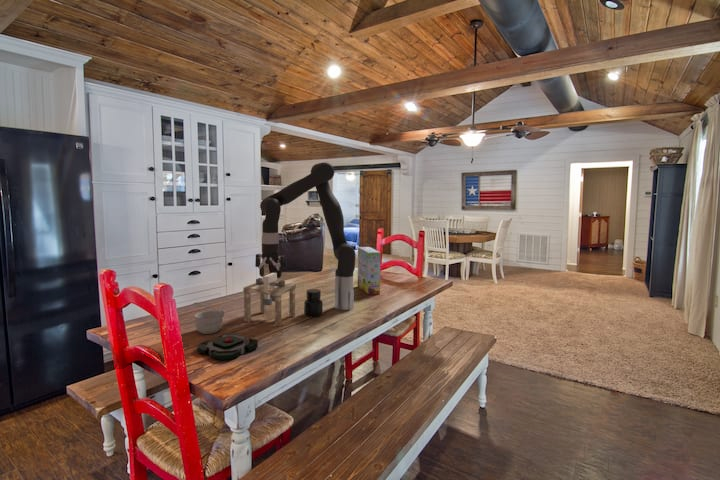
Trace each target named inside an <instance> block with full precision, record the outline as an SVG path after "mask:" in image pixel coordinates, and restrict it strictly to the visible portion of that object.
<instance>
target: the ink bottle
mask: <svg viewBox="0 0 720 480" xmlns="http://www.w3.org/2000/svg"><path fill="white" fill-rule="evenodd" d="M321 292H322V291H321V289H317V288H310V289H307V290H306V299H305V300H304V302H303V315H304V316H306V317H309V318H319V317H321V316H322V315H323V311H324V310H323V305H324V304H323V300H321Z"/></svg>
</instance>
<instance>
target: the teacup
mask: <svg viewBox="0 0 720 480" xmlns="http://www.w3.org/2000/svg"><path fill="white" fill-rule="evenodd" d="M224 316H225V311H224V309H216V310H215V309H211V310H210V309H209V310H204V311H201V312H197V313H196V314H194V319H195V322H194V323H195V326H196V330H197V331H198V332H199V333H200V334H202V335H203V334H204V335H210V334H215V333H217V332H218V331H220V330H221V329H222V327H223V318H224Z"/></svg>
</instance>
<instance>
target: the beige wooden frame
mask: <svg viewBox="0 0 720 480" xmlns="http://www.w3.org/2000/svg"><path fill="white" fill-rule="evenodd" d="M271 286H276V288H274V289H271V288H270V289H265V288H264V283H263V277H258V278H256V279H255V282H254V283H251V284H249V285H246V286H244V287H242V288H243V289H242V291H243V300H244V301H243V307H244V308H243V309H244V310H243V312H244V314H243V317H244V319H243V320H244V322H245V323H250V322H251V321H252V319H251V318H252V316H251V314H252V313H251V312H252V311H251V309H252V306H251V304H252V303H251V299H252V298H251V294H259V295H260V297H259V298H260V303H259V305H260V307H259V308H260V310H259V311H260V314H266V313H267V305H263V301H262V299H263V298H264V294H267V295H275V301H274V326H275V327H281V326H282V295H284V294H287V292H289V302H288V303H289V308H288V312H289V315H288V316H289V317H290V318H294V317H296V287H297V283H294V282H286V281H285V279H284V280H283V279H280V280H279V281H277V280H276V282H271V283H270V287H271Z"/></svg>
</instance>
